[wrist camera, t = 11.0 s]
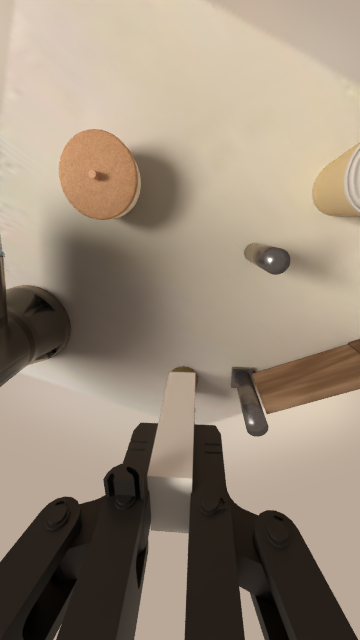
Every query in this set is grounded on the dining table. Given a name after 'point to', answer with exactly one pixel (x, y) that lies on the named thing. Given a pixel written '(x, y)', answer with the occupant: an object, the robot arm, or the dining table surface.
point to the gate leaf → (310, 378)
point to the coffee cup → (339, 185)
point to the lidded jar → (99, 175)
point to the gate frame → (243, 378)
